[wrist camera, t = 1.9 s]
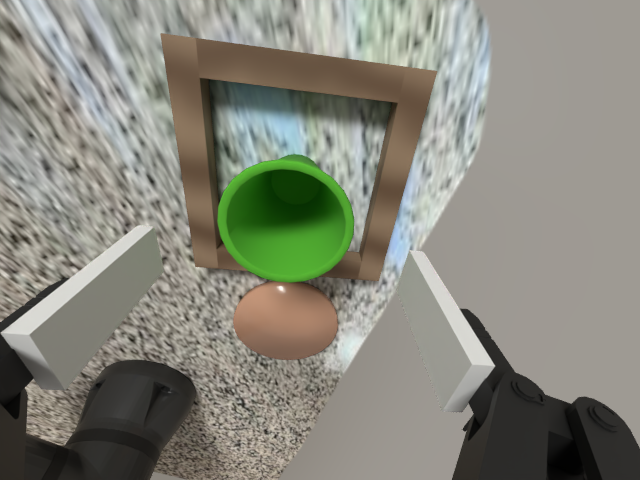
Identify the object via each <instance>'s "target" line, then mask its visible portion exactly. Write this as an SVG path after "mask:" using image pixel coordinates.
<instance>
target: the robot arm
mask: <svg viewBox="0 0 640 480" xmlns="http://www.w3.org/2000/svg"><path fill="white" fill-rule="evenodd" d="M163 272H164V268H163V263H162V259H161V255H160V250H159V246H158V242H157V237H156V233H155V229H154V227H151V226H140V225H138V226H137V227H135V228H134V229H133V230H132V231H130V232H129V233H128V234H126V235H125V236H124V237H123V238H121V239H120V240H119V241H117V242H116V243H115V244H114V245H112V246H111V247H110V248H108V249H107V250H106V251H105V252H103V253H102V254H101V255H99V256H98V257H97V258H96V259H94V260H93V261H92V262H91V263H89V264H88V265H87V266H85V267H84V268H83V269H82V270H80V271H79V272H78V273H76V274H75V275H74V276H73V277H71V278H65V279H63V280H60V281H58V282H56V283H54V284H52V285H50V286H48V287H47V288H46V289H44V290H43V291H42V292H40V293H39V294H38V295H36V298H32V299H31V300H30V301H28V302H27V303H26V304H25V306H22V307H20V308H19V309H18V310H16V311H15V312H14V313H12V314H11V315H10V316H8V317H7V318H6V319H4V320H3V321H2V322H0V480H150V478H151V476H152V473H153V471H154V468H155V466H156V463H157V461H158V459H159V456H160V454H161V452H162V450H163V448H164V447H165V446H166V444H167V443H168V442H169V440H170V439H171V438H172V436H173V435H174V433H175V432H176V431H177V429H178V428H179V427H180V425H181V424H182V423H183V421H184V420H185V419H186V417H187V416H188V414H189V412H190V410H191V408H192V405H193V403H194V400H195V397H196V391H195V388H194V386H193V384H192V383H191V382H190V381H189V380H188V379H187V378H186V377H185V376H184V375H182V374H181V373H179V372H178V371H176V370H174V369H172V368H170V367H167V366H165V365H162V364H158V363H154V362H150V361H142V360H127V361H120V362H116V363H113V364H111V365H109V366H107V367H106V368H105V369H104V370H103V371H102V372H101V373H100V375H99V376H98V377H97V379H96V380H95V381H94V383H93V384H92V386H91V388H90V391H89V394H88V397H87V399H86V402H85V405H84V408H83V411H82V413H81V416H80V419H79V422H78V424H77V427H76V429H75V431H74V433H73V434H72V436H71V437H70V439H69V440H68V441H67V443H66V444H65V446H64V447H62V446H59V445H57V444H55V443H52V442H49V441H46V440H44V439H41V438H38V437H35V436H32V435H30V434H27V433H26V422H27V400H28V395H27V392H26V390H25V387H26V386H27V385H28V384H29V383H30V382H31V380H32V379H34V380H35V381H36V383H37V384H38V385H39V387H40V388H41V389H49V390H66V389H67V388H68V386H69V385H70V384H71V383H72V382H73V380H74V379H75V378H76V377H77V376H78V374H79V373H80V372H81V371H82V370H83V368H84V367H85V366H86V365H87V363H88V362H89V361H90V360H91V359H92V357H93V356H94V355H95V354H96V353H97V351H98V350H99V349H100V348H101V347H102V345H103V344H104V343H105V342H106V341H107V339H108V338H109V337H110V336H111V334H112V333H113V332H114V331H115V330H116V328H117V327H118V326H119V325H120V324H121V322H122V321H123V320H124V319H125V318H126V316H127V315H128V314H129V313H130V312H131V310H132V309H133V308H134V307H135V305H136V304H137V303H138V302H139V301H140V299H141V298H142V297H143V296H144V295H145V293H146V292H147V291H148V290H149V289H150V287H151V286H152V285H153V284H154V283H155V281H156V280H157V279H158V278H159V277H160V275H161V274H162V273H163ZM396 291H397V294H398V296H399V299H400V302H401V304H402V307H403V310H404V312H405V315H406V317H407V320H408V323H409V325H410V328H411V331H412V333H413V336H414V338H415V341H416V344H417V346H418V349H419V352H420V354H421V357H422V360H423V362H424V365H425V368H426V370H427V373H428V376H429V378H430V381H431V383H432V386H433V389H434V391H435V394H436V397H437V399H438V402H439V405H440V407H441V410H442V411H448V412H463V410H464V409H465V408H466V406H467V405H468V403H469V405H470V407H471V409H472V411H473V413H474V414H473V416H472V417H471V418H470V420H469V421H468V422H467V424H466V425H465V426H464V428H463V431H466V430H467V432H466V435H465V439H464V442H463V445H462V448H461V452H460V455H459V458H458V461H457V465H456V468H455V471H454V474H453V478H452V480H640V448H639V446H638V444H637V442H636V440H635V438H634V436H633V434H632V432H631V430H630V429H629V428H628V426H627V425H626V423H625V422H624V421H623V420H622V419H621V418H620V417H619V416H618V415H617V414H616V413H615V412H614V411H613V410H611V409H610V408H609V407H607V406H606V405H604V404H602V403H601V402H598V401H597V400H595V399H592V398H588V397H579V398H577V399H576V400H575V401H574V402H573V403H572V404H570V403H567V402H564V401H562V400H558V399H556V398H553V397H550V396H547V395H545V394H544V392H543V391H542V390H541V389H540V388H539V387H538V386H537V385H536V384H535V383H534V382H532V381H531V380H530V379H528V378H527V377H524V376H522V375H520V374H518V373H515V372H514V370H513V368H512V367H511V366H510V364H509V363H508V361H507V360H506V358H505V357H504V356H503V354H502V352H501V351H500V349H499V348H498V346H497V345H496V343H495V342H494V341H493V340H492V339H491V336H490V335H489V333H488V332H487V331H486V330H485V327H484V326H483V324H482V323H481V322H480V320H479V319H478V318H477V317H476V316H475V315H474V314H473V313H471V312H470V311H469V310H468V309H459V308H458V306H457V304H456V303H455V301H454V300H453V298H452V296H451V295H450V293H449V292H448V290H447V289H446V287H445V285H444V284H443V283H442V281H441V279H440V277H439V276H438V274H437V273H436V271H435V269H434V268H433V266H432V265H431V263H430V261H429V260H428V259H427V257H426V255H425V253H424V252H421V251H410V250H409V253H408V256H407V259H406V262H405V265H404V268H403V271H402V274H401V277H400V280H399V283H398V286H397V289H396Z"/></svg>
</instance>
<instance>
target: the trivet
mask: <svg viewBox="0 0 640 480" xmlns="http://www.w3.org/2000/svg"><path fill="white" fill-rule="evenodd" d="M233 324H234V329H235V332H236V334H237V336H238V337H239V339H240V340H241V341H242V342H243V343H244V344H245V345H246V346H247V347H248V348H250V349H251V350H253V351H254V352H256V353H259V354H261V355H263V356H266V357H270V358H275V359H282V360H293V359H301V358H306V357H309V356H312V355H314V354H316V353H319V352H320V351H322V350H323V349H325V348H326V347H327V346H328V345H329V344H330V343H331V342H332V340H333V339H334V337H335V335H336V332H337V327H338V322H337V313H336V309H335V307H334V305H333V303H332V301H331V300H330V299H329V298H328V297H327V296H326V295H325V294H324V293H323V292H322V291H320V290H319V289H317V288H315V287H313V286H311V285H308V284H306V283H302V282H292V283H288V282H276V281H271V282H266V283H263V284H260V285H258V286H256V287H254V288H252V289H251V290H249V291H248V292H247V293H246V294H245V295H244V296H243V297H242V298H241V300H240V301H239V303H238V306H237V308H236V311H235V314H234V321H233Z"/></svg>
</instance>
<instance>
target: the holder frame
mask: <svg viewBox="0 0 640 480" xmlns="http://www.w3.org/2000/svg"><path fill="white" fill-rule="evenodd" d="M161 40H162V46H163V53H164V60H165V66H166V73H167V80H168V86H169V93H170V100H171V106H172V113H173V120H174V126H175V133H176V140H177V147H178V153H179V160H180V167H181V173H182V180H183V187H184V193H185V200H186V207H187V213H188V220H189V227H190V233H191V240H192V247H193V253H194V260H195V267H204V268H217V269H230V270H243V271H248V270H247V269H245V268H244V267H243V266H241V265H240V264H239V263H238V262H237V261H236V260H235V259H234V258H233V257H232V255H231V254H230V253H229V252H228V251H227V249H226V247H225V245H224V243H223V241H222V239H221V236H220V232H219V227H218V222H217V219H218V206H219V198H218V187H217V175H216V163H215V151H214V139H213V127H212V115H211V103H210V91H209V79H214V80H222V81H230V82H238V83H246V84H254V85H262V86H269V87H277V88H285V89H293V90H301V91H309V92H317V93H325V94H333V95H340V96H348V97H356V98H364V99H372V100H380V101H388V102H392V104H391V109H390V113H389V118H388V123H387V127H386V132H385V136H384V141H383V145H382V150H381V155H380V159H379V164H378V168H377V173H376V177H375V182H374V187H373V191H372V196H371V200H370V205H369V209H368V214H367V219H366V223H365V228H364V232H363V237H362V242H361V246H360V251H359V252H349V251H346V253H345V254H344V256H343V257H342V259H341V260H340V261H339V262H338V263H337V264H336V265H335V266H334V267H333V268H332V269H331V270H329V271H327V272H326V273H324V274H322V275H320V276H319V277H332V278H345V279H358V280H371V281H379V278H380V274H381V271H382V267H383V264H384V260H385V256H386V253H387V249H388V246H389V242H390V238H391V235H392V231H393V228H394V224H395V221H396V217H397V213H398V210H399V206H400V203H401V199H402V196H403V192H404V188H405V185H406V181H407V178H408V174H409V171H410V167H411V163H412V160H413V156H414V153H415V149H416V145H417V142H418V138H419V135H420V131H421V128H422V124H423V120H424V117H425V113H426V110H427V106H428V103H429V99H430V95H431V92H432V88H433V85H434V81H435V78H436V74H437V71H432V70H425V69H418V68H410V67H403V66H396V65H389V64H381V63H374V62H367V61H359V60H352V59H345V58H337V57H330V56H323V55H315V54H308V53H301V52H293V51H286V50H279V49H272V48H264V47H257V46H250V45H242V44H235V43H228V42H220V41H213V40H206V39H198V38H191V37H184V36H176V35H169V34H162V33H161Z"/></svg>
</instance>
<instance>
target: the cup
mask: <svg viewBox="0 0 640 480" xmlns="http://www.w3.org/2000/svg"><path fill="white" fill-rule="evenodd" d="M217 222H218V227H219V232H220V236H221V239H222V241H223V243H224V245H225V247H226V249H227V251H228V252H229V253H230V254H231V255H232V257H233V258H234V259H235V260H236V261H237V262H238V263H239V264H240V265H241V266H243V267H244V268H245V269H247V270H248V271H249V272H251V273H253V274H255V275H258V276H260V277H262V278H265V279H269V280H272V281H276V282H288V283H292V282H301V281H306V280H310V279H313V278H316V277H319V276H320V275H322V274H324V273H326V272H327V271H329V270H331V269H332V268H333V267H334V266H335V265H336V264H337V263H338V262H339V261H340V260H341V259H342V257H343V256H344V254H345V253H346V251H347V250H348V248H349V246H350V243H351V240H352V237H353V233H354V216H353V211H352V206H351V204H350V202H349V200H348V198H347V196H346V194H345V192H344V190H343V189H342V188H341V187H340V186H339V185H338V184H337V182H336V181H335V180H334V179H333V178H332V177H330V176H329V175H327V174H326V173H325V172H323V171H322V170H320V169H319V167H318V166H317V165H316V164H315V163H314V162H313V161H312V160H311V159H309V158H308V157H305V156H303V155H296V154H293V155H287V156H285V157H282V158H280V159H278V160H272V161H264V162H261V163H258V164H256V165H254V166H251V167H249V168H246V169H245V170H244V171H242V172H241V173H240V174H239V175H237V176H236V177H235V178H233V179H232V181H231V182H230V184H229V185H228V186H227V188H226V189H225V190H224V192H223V194H222V197H221V200H220V203H219V206H218V219H217Z"/></svg>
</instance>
